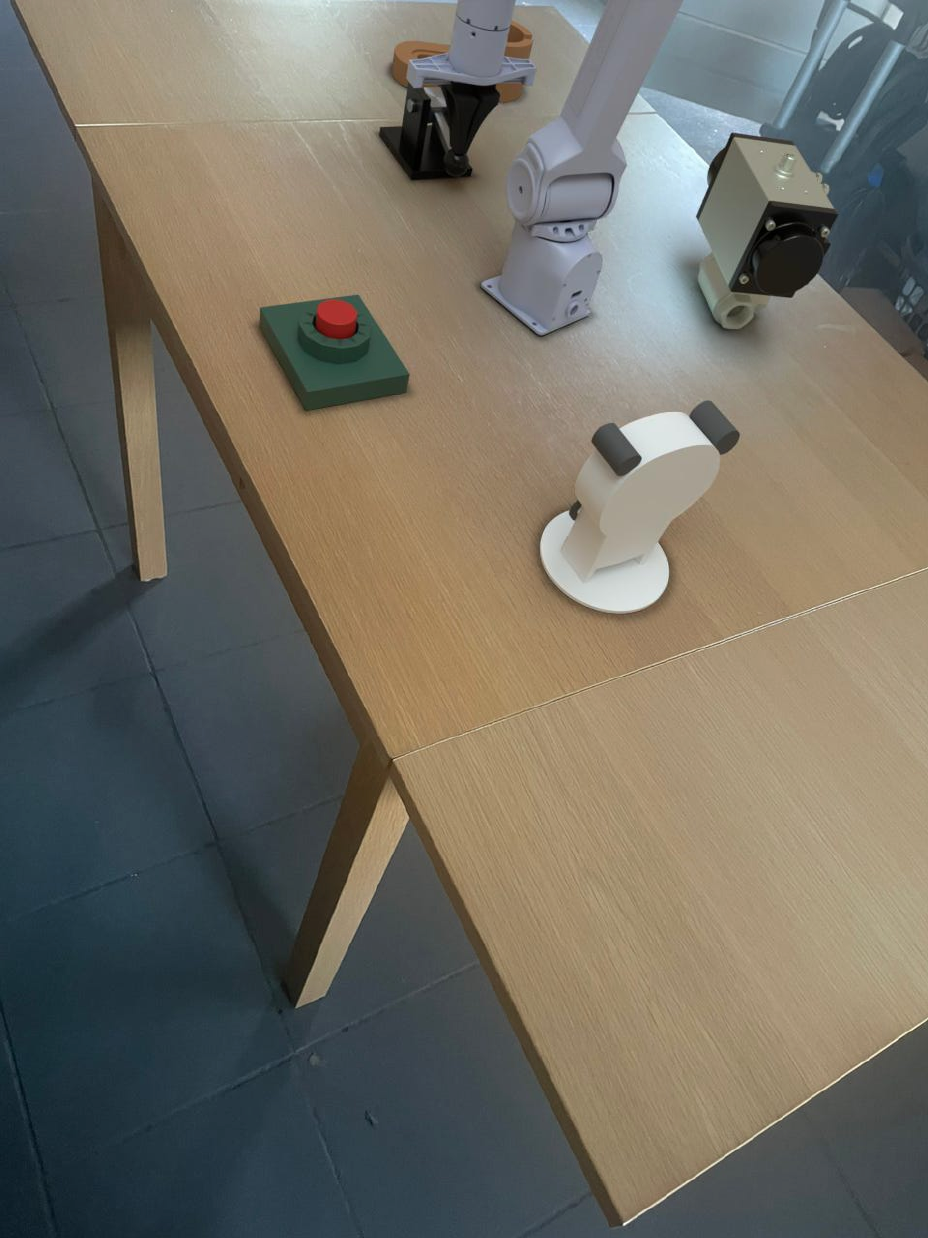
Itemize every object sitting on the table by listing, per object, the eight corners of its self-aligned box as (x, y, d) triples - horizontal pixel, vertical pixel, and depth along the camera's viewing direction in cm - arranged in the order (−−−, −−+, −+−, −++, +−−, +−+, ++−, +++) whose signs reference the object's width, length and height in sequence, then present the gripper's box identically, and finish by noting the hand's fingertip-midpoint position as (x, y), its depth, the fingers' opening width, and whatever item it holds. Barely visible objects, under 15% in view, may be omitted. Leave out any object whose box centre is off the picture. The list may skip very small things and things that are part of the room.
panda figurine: (626, 496, 84) (690, 364, 72) (698, 589, 79) (780, 464, 67) (515, 527, 79) (564, 391, 67) (584, 629, 74) (651, 502, 62)
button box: (406, 392, 86) (412, 358, 83) (305, 410, 82) (308, 375, 79) (356, 312, 91) (360, 277, 88) (259, 326, 87) (260, 290, 84)
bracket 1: (513, 74, 130) (525, 20, 124) (526, 104, 125) (539, 50, 120) (387, 59, 125) (394, 2, 119) (396, 89, 120) (404, 32, 115)
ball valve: (781, 362, 101) (868, 212, 87) (710, 356, 99) (788, 201, 85) (733, 264, 111) (805, 115, 97) (668, 257, 109) (732, 104, 95)
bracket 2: (471, 176, 111) (484, 110, 105) (411, 180, 108) (421, 112, 102) (437, 132, 116) (448, 67, 110) (378, 134, 113) (386, 67, 106)
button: (361, 337, 84) (363, 321, 82) (324, 343, 82) (325, 326, 81) (346, 312, 85) (347, 296, 84) (309, 318, 84) (310, 301, 83)
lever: (467, 181, 107) (476, 162, 105) (444, 182, 106) (452, 163, 103) (436, 105, 109) (444, 84, 107) (413, 105, 108) (420, 84, 105)
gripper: (526, 1, 98) (498, 128, 109) (403, -2, 93) (386, 132, 104) (557, 32, 95) (525, 160, 106) (431, 31, 89) (410, 166, 100)
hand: (458, 149), depth 105 cm, fingers closed, pressing on lever
